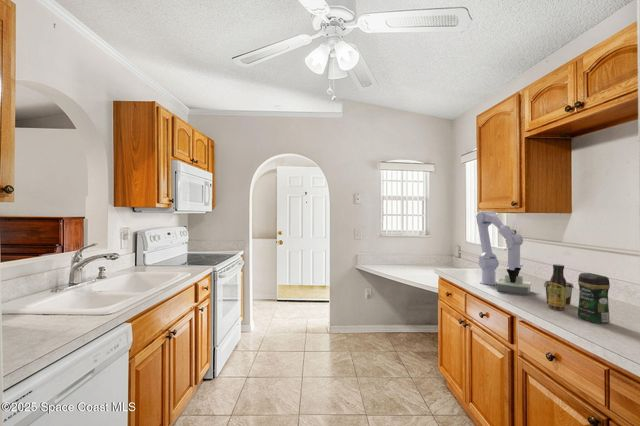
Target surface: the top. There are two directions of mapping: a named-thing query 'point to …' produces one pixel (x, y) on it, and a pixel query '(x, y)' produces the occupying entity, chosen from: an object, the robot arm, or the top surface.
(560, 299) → the sauce bottle
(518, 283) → the lid
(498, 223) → the robot arm
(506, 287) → the tub
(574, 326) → the top surface
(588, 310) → the coffee jar
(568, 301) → the food container
